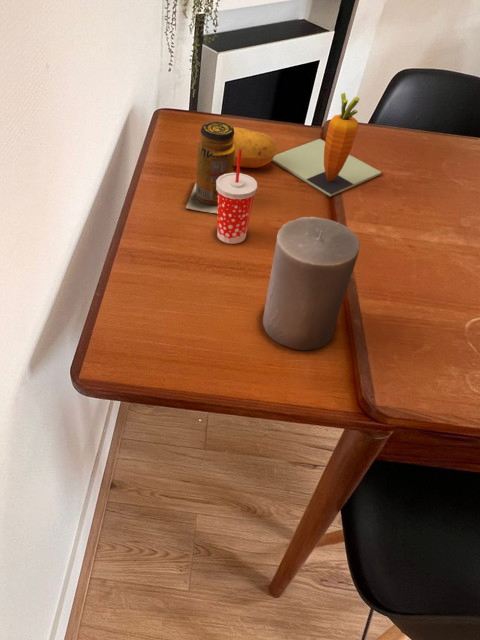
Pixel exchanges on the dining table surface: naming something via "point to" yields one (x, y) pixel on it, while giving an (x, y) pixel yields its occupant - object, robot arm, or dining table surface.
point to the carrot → (340, 138)
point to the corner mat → (311, 168)
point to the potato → (253, 148)
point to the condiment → (212, 164)
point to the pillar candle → (309, 281)
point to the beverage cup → (234, 204)
